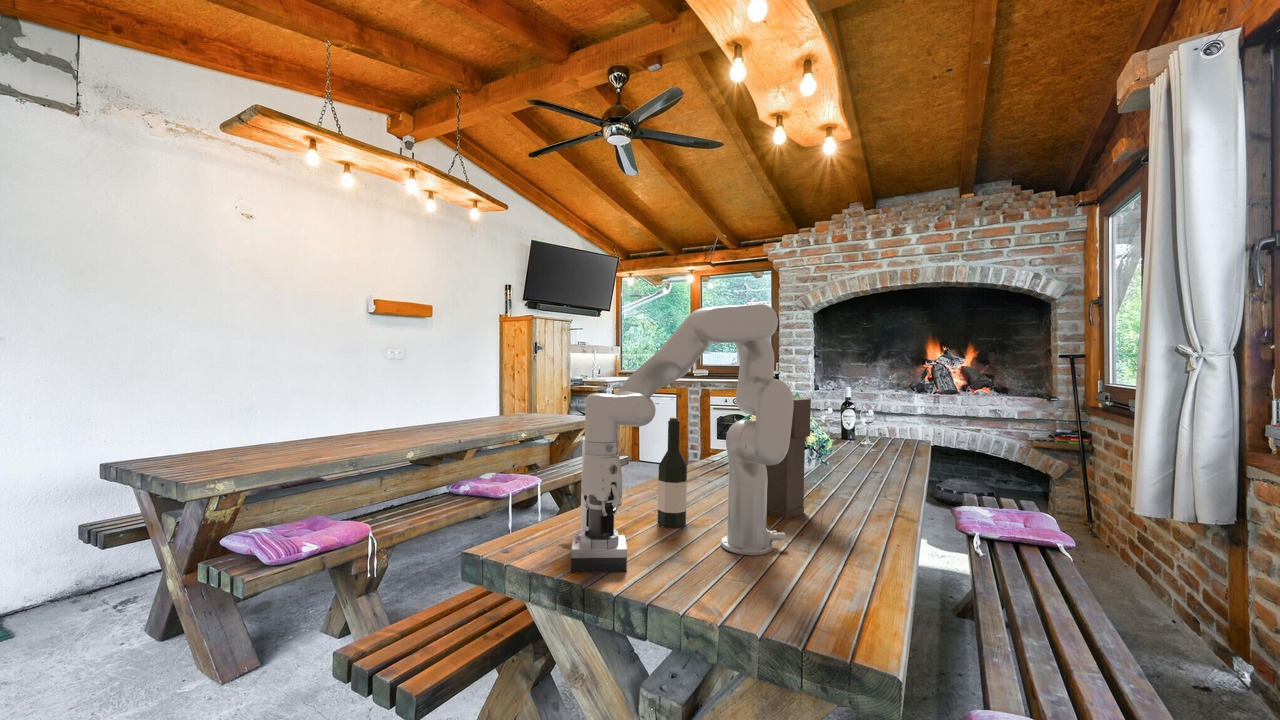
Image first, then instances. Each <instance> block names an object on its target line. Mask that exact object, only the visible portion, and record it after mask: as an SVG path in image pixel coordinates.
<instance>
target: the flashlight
mask: <svg viewBox="0 0 1280 720" xmlns="http://www.w3.org/2000/svg"><path fill="white" fill-rule="evenodd" d="M608 500H610V497H609V498H608ZM606 505H607V508H608V507H609V505H610V503H607V504H606ZM601 515H603V513H602V505H601V502H600V501H598V500H597V498H596V497H594V496H591V495H589V531H588V537H591V538H608V537H611V532H610V533H606V534H602V533H601Z"/></svg>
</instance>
